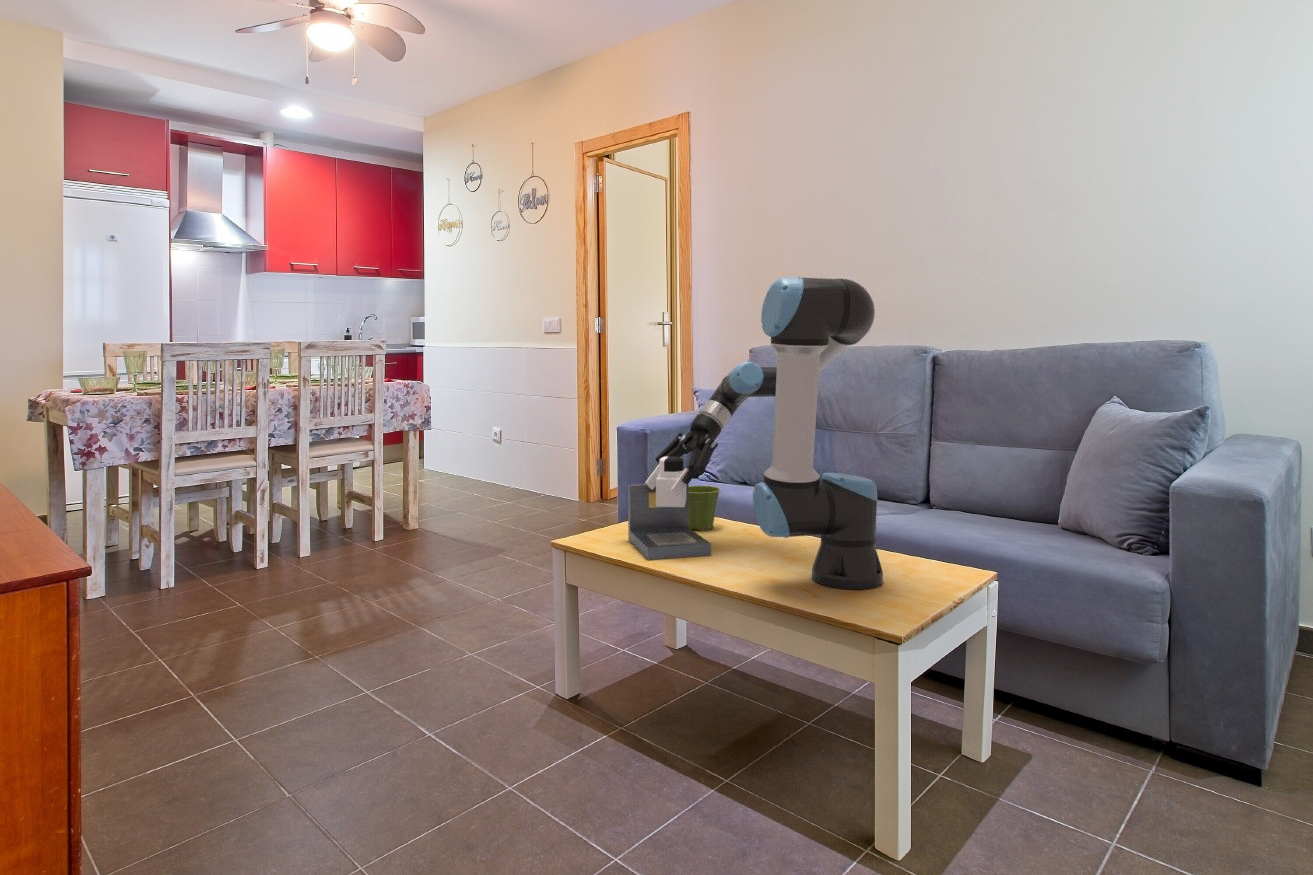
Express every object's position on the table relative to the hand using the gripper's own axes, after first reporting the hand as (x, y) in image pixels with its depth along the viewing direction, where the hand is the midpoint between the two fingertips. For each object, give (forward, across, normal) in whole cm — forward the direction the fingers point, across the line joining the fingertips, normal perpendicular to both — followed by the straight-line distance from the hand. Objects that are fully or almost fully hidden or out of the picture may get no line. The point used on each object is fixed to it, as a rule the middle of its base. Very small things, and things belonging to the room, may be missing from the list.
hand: (661, 489), depth 190 cm
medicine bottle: (+1, 0, -5) cm, 5 cm away
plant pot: (-6, +14, -29) cm, 33 cm away
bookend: (+9, +2, -14) cm, 16 cm away
